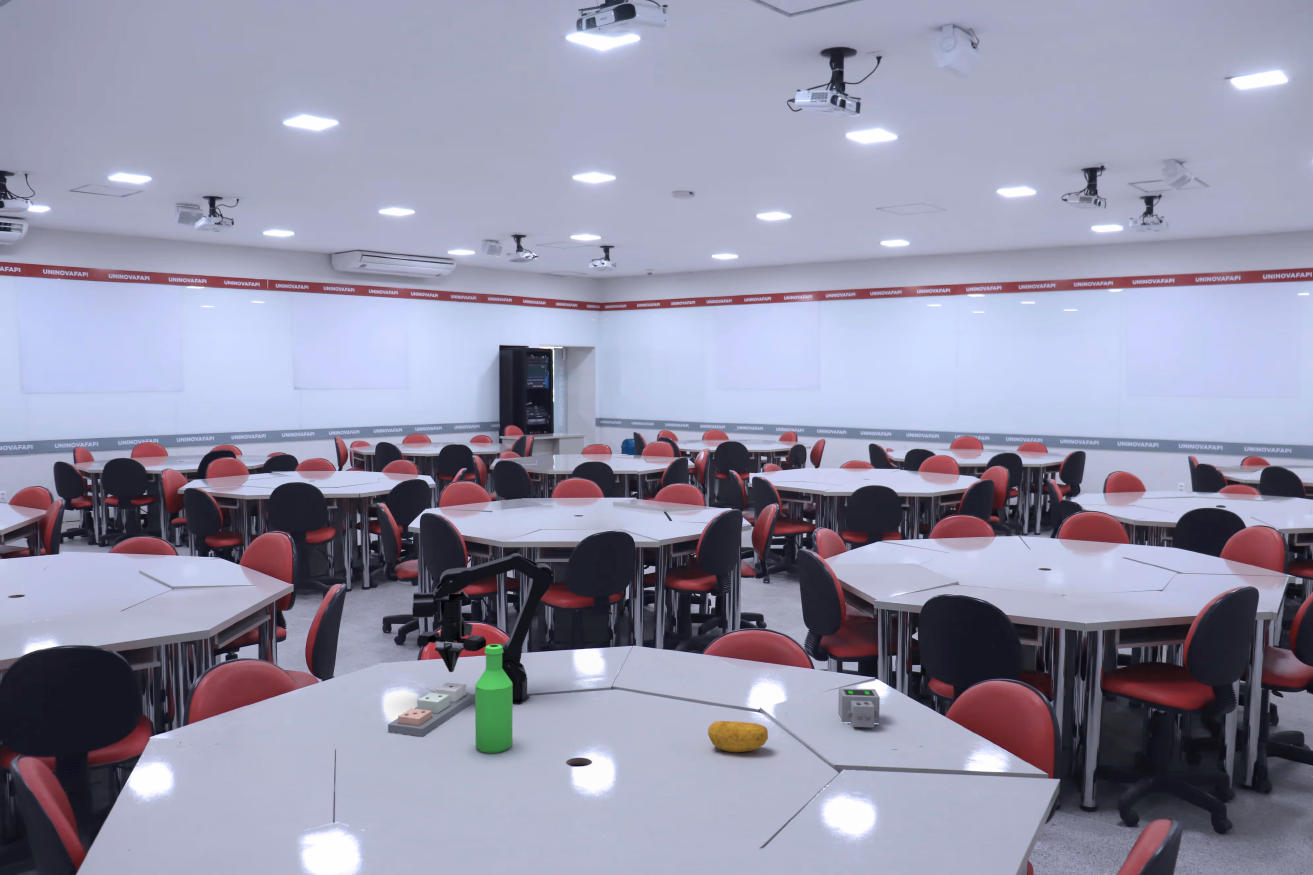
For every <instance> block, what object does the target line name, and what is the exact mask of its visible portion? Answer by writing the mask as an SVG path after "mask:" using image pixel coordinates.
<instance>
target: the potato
mask: <svg viewBox="0 0 1313 875" xmlns="http://www.w3.org/2000/svg"><path fill="white" fill-rule="evenodd" d="M707 731H708V732H707V734H708V737H709V740H710V742H711V744H712V745H713V746H714V747H715V748H717V749H718V750H721V751H724V752H729V753H745V752H751V751H756V750H757V749H760V748H761V747H762V746H765V744H766V742H767V741H768V740H769V735H768V728H767V727H766V726H765V725H762V724H760V723H756V722H754V723H753V722H745V721H728V720H727V721H726V720H717V721H714V722H713V723H712V724H710V725H709V727H708V729H707Z"/></svg>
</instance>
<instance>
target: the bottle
mask: <svg viewBox="0 0 1313 875" xmlns="http://www.w3.org/2000/svg"><path fill="white" fill-rule="evenodd" d="M502 653H503V647H502V646H501V645H500V643H499V644H498V643H493V644H492V643H491V644H488V645H486V646H485V647H484V654H485V670H484V671H483V673H482V674H481V676H480V677H479V679H478V680H477V681H476V684H475V689H474V690H475V691H474V692H475V693H474V694H475V705H474V706H475V710H474V711H475V713H474V714H475V747H476V749H478V750H479V751H481V752H482V753H487V754H497V753H498V754H499V753H502V752H505V751H506V750H508V749H509V748H510V747H511V746H512V745H513V709H514V708H513V707H514V706H513V704H514V703H513V683H512V681H511V680H510V679H509V677H508V676H507V674H506V673H505V672H504V670H503V669H502Z"/></svg>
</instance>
